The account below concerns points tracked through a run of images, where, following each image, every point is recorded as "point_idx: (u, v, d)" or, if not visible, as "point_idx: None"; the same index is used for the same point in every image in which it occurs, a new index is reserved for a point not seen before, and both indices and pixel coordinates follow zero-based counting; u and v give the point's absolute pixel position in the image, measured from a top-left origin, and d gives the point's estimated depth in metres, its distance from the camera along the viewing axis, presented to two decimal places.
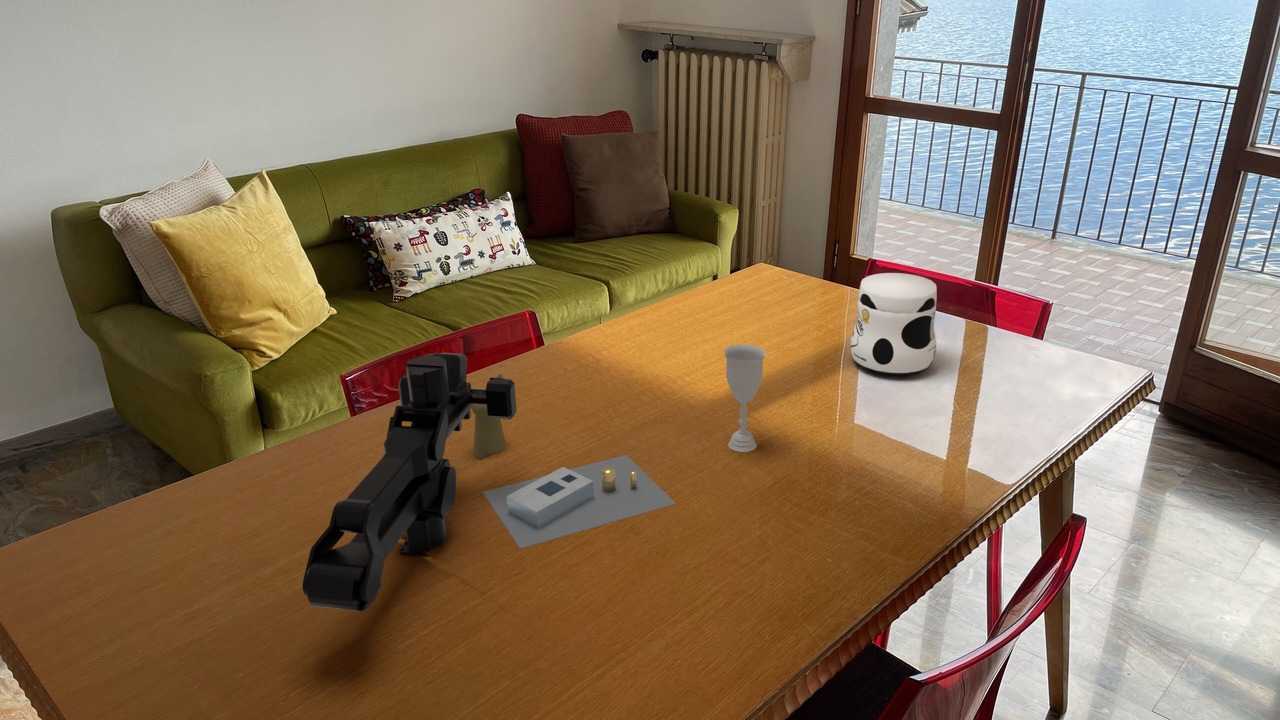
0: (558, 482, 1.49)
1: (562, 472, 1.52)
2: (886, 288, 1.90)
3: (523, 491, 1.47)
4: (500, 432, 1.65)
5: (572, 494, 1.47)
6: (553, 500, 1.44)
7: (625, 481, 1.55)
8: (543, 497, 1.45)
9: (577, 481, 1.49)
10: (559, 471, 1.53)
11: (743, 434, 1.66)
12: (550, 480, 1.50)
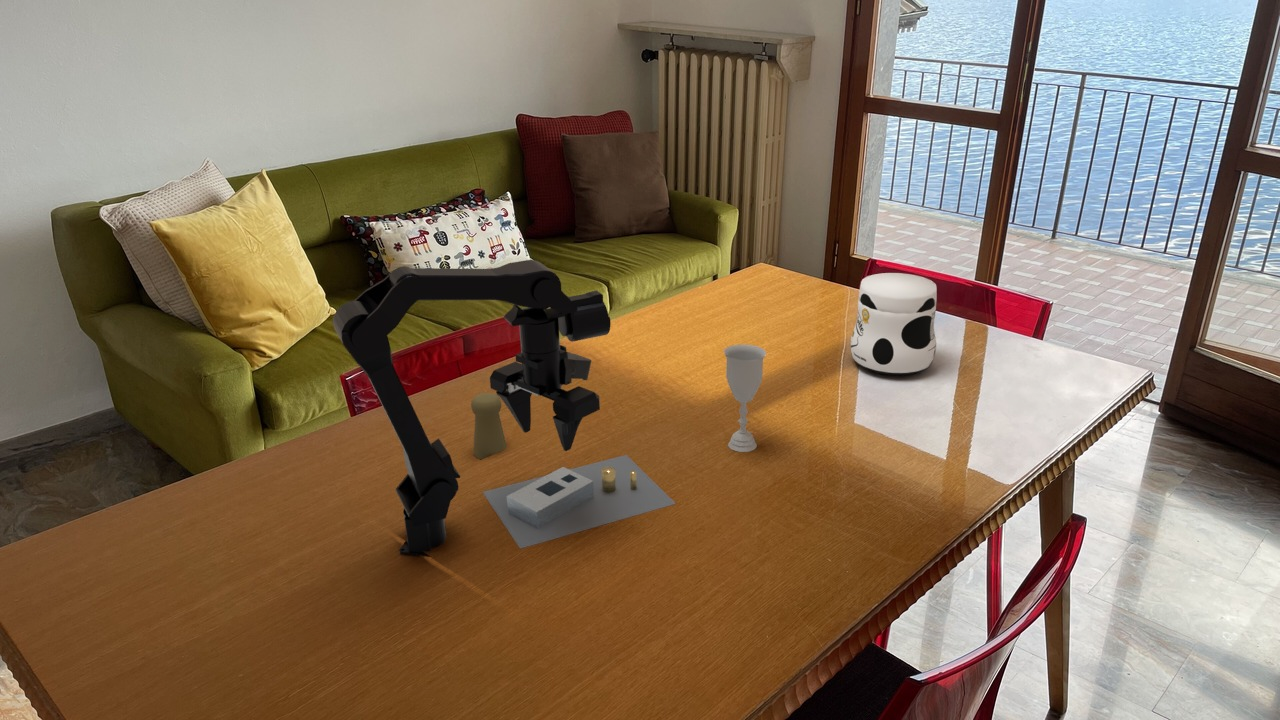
0: (558, 482, 1.49)
1: (562, 472, 1.52)
2: (886, 288, 1.90)
3: (523, 491, 1.47)
4: (500, 432, 1.65)
5: (572, 494, 1.47)
6: (553, 500, 1.44)
7: (625, 481, 1.55)
8: (543, 497, 1.45)
9: (577, 481, 1.49)
10: (559, 471, 1.53)
11: (743, 434, 1.66)
12: (550, 480, 1.50)
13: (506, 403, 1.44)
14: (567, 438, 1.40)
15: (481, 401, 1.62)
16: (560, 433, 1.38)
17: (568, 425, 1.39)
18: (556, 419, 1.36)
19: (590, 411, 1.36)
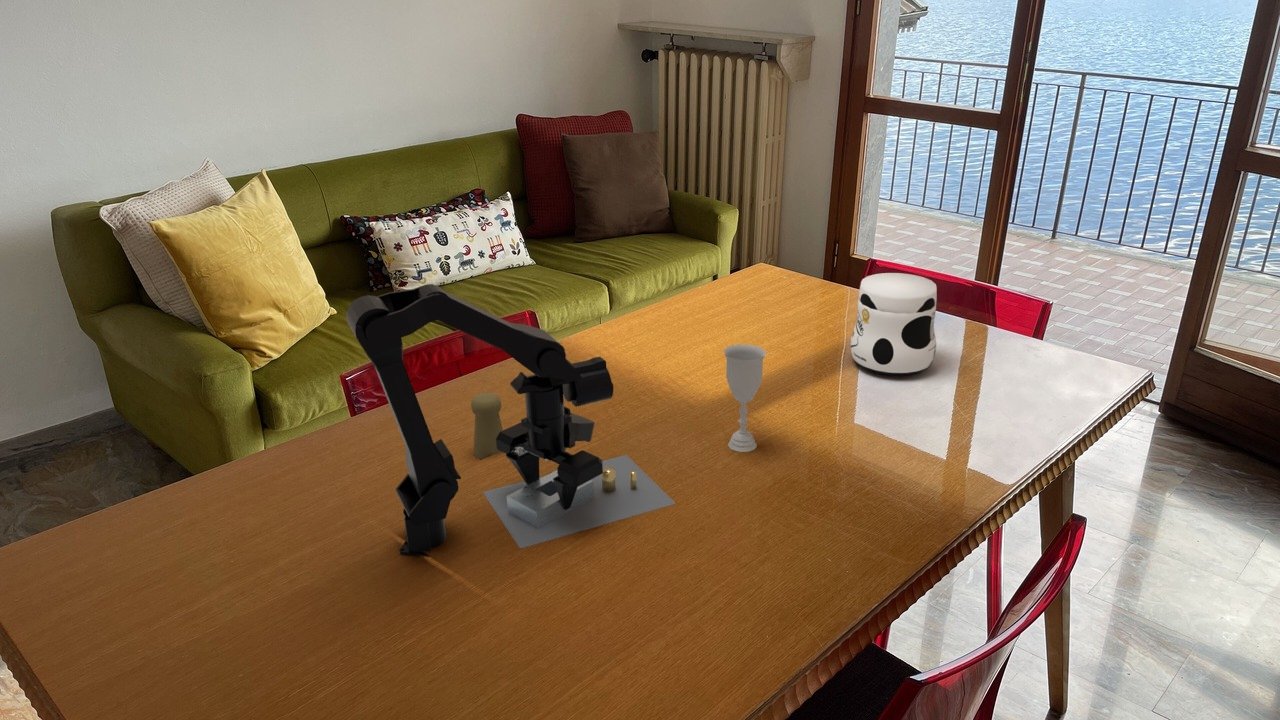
0: None
1: None
2: (886, 288, 1.90)
3: (523, 491, 1.47)
4: None
5: None
6: (553, 500, 1.44)
7: (625, 481, 1.55)
8: (543, 497, 1.45)
9: None
10: None
11: (743, 434, 1.66)
12: (550, 480, 1.50)
13: (515, 466, 1.48)
14: (567, 498, 1.44)
15: (481, 401, 1.62)
16: (560, 493, 1.43)
17: (568, 486, 1.43)
18: (556, 481, 1.41)
19: (593, 475, 1.40)
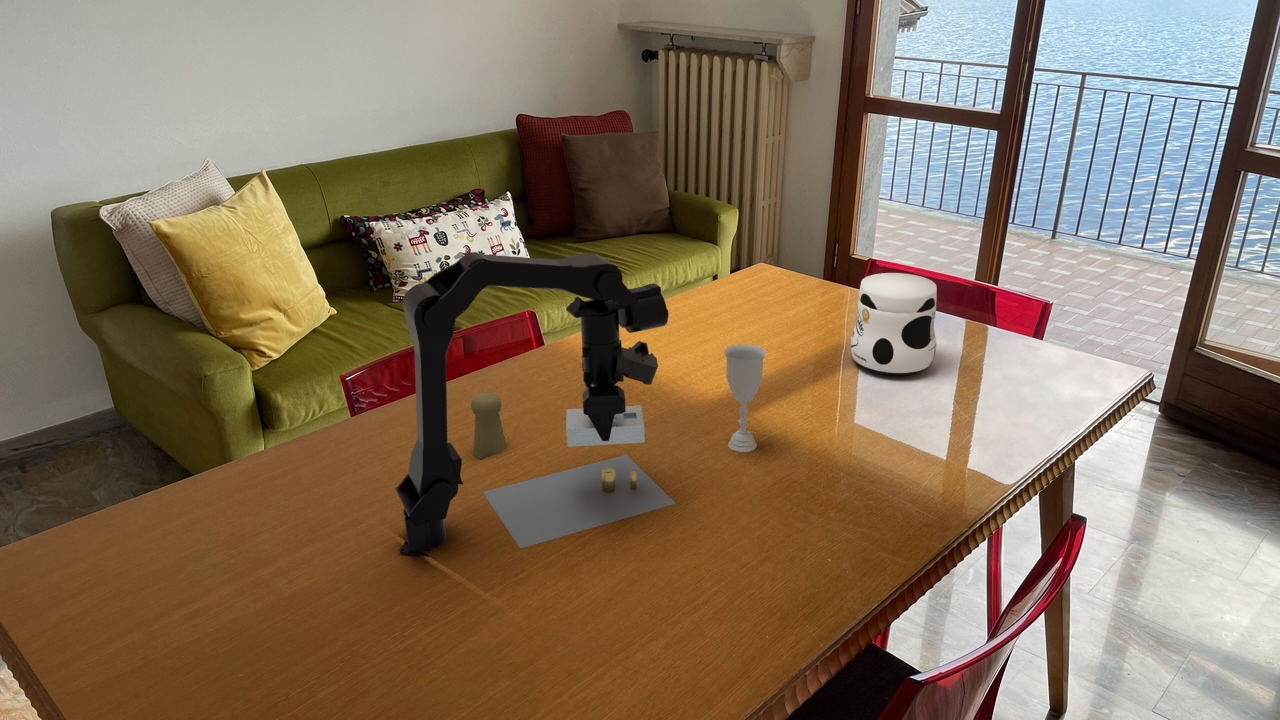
0: (617, 415, 1.48)
1: (633, 409, 1.50)
2: (886, 288, 1.90)
3: (581, 411, 1.50)
4: (500, 432, 1.65)
5: (614, 429, 1.45)
6: (591, 426, 1.45)
7: (625, 481, 1.55)
8: (588, 421, 1.46)
9: (631, 420, 1.46)
10: (632, 407, 1.50)
11: (743, 434, 1.66)
12: None
13: None
14: (600, 429, 1.43)
15: (481, 401, 1.62)
16: None
17: (600, 416, 1.42)
18: None
19: (609, 411, 1.37)
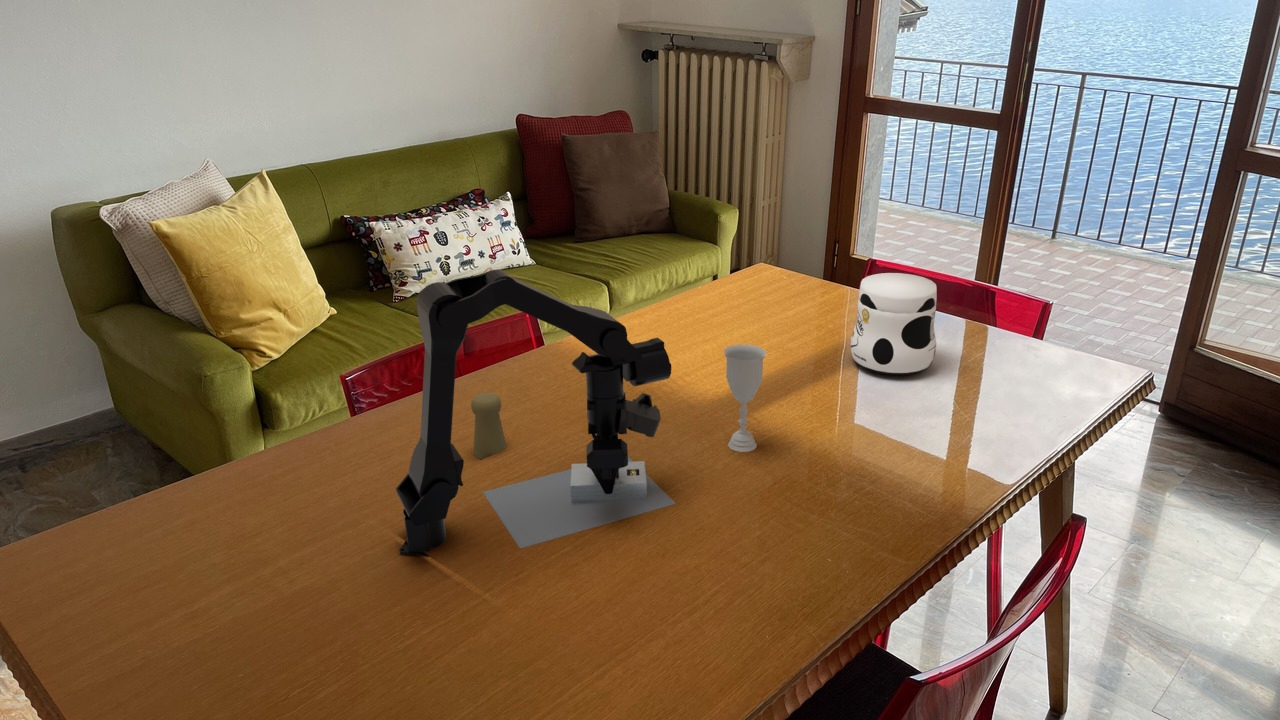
0: (621, 471, 1.52)
1: (636, 465, 1.54)
2: (886, 288, 1.90)
3: (586, 466, 1.54)
4: (500, 432, 1.65)
5: (617, 486, 1.49)
6: (595, 483, 1.49)
7: None
8: (592, 477, 1.51)
9: (634, 477, 1.50)
10: (635, 463, 1.54)
11: (743, 434, 1.66)
12: None
13: None
14: (603, 482, 1.46)
15: (481, 401, 1.62)
16: None
17: (604, 471, 1.45)
18: None
19: (611, 465, 1.41)
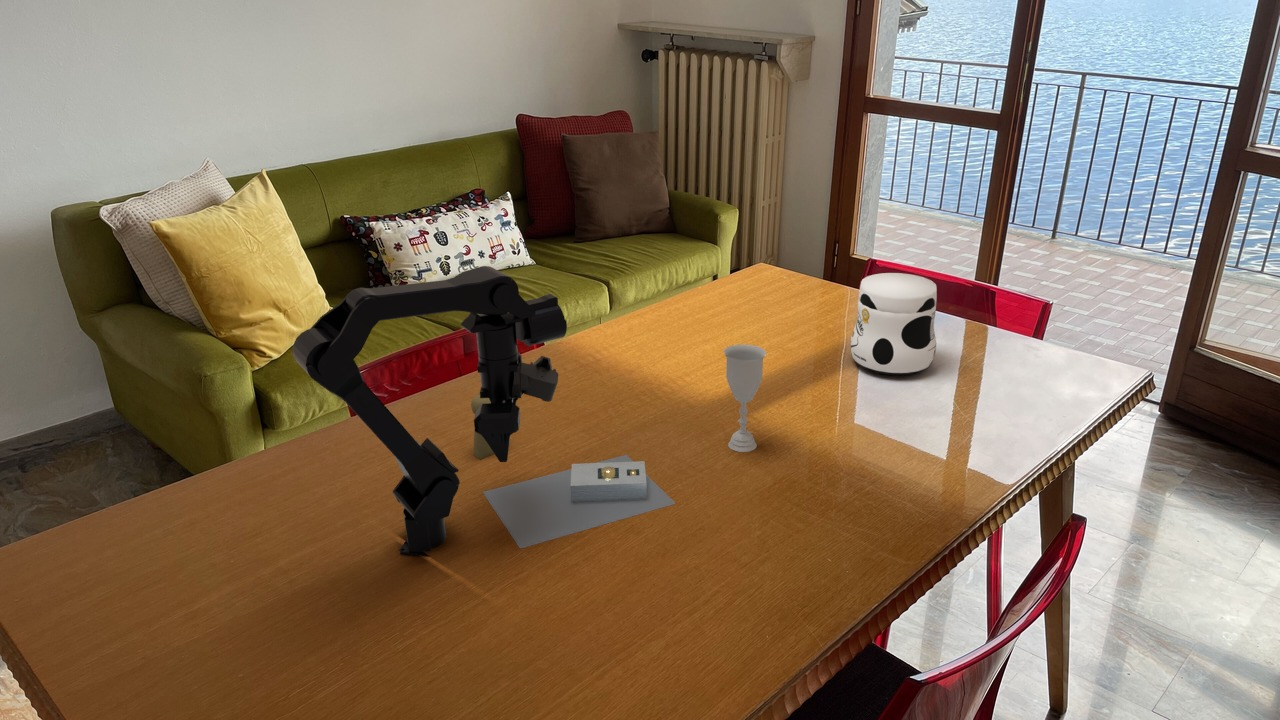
0: (621, 471, 1.52)
1: (636, 465, 1.54)
2: (886, 288, 1.90)
3: (586, 466, 1.54)
4: None
5: (617, 486, 1.49)
6: (595, 483, 1.49)
7: None
8: (592, 477, 1.51)
9: (634, 477, 1.50)
10: (635, 463, 1.54)
11: (743, 434, 1.66)
12: (618, 467, 1.53)
13: None
14: (496, 450, 1.38)
15: (481, 401, 1.62)
16: None
17: (496, 437, 1.37)
18: None
19: (500, 429, 1.32)
